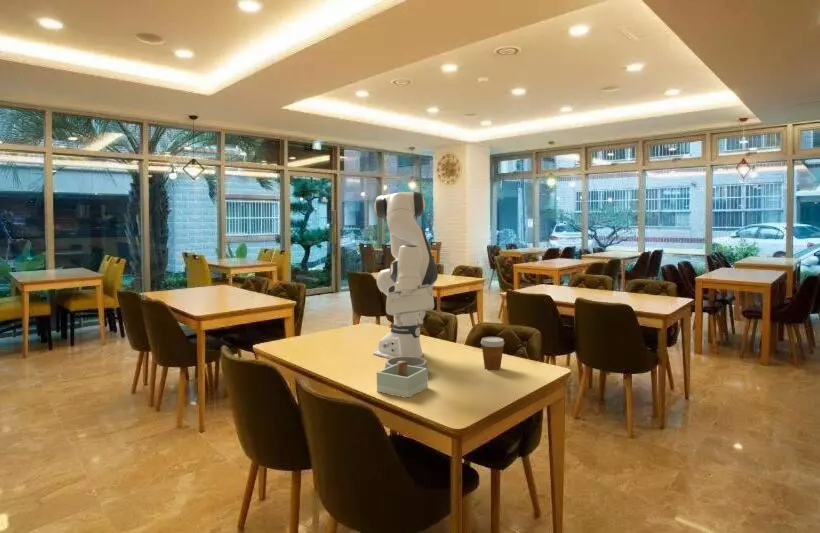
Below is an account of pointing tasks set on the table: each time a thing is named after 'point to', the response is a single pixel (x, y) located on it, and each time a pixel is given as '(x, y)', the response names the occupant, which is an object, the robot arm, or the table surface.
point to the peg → (402, 368)
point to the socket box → (402, 381)
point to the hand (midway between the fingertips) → (409, 325)
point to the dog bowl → (408, 361)
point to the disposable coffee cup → (492, 352)
